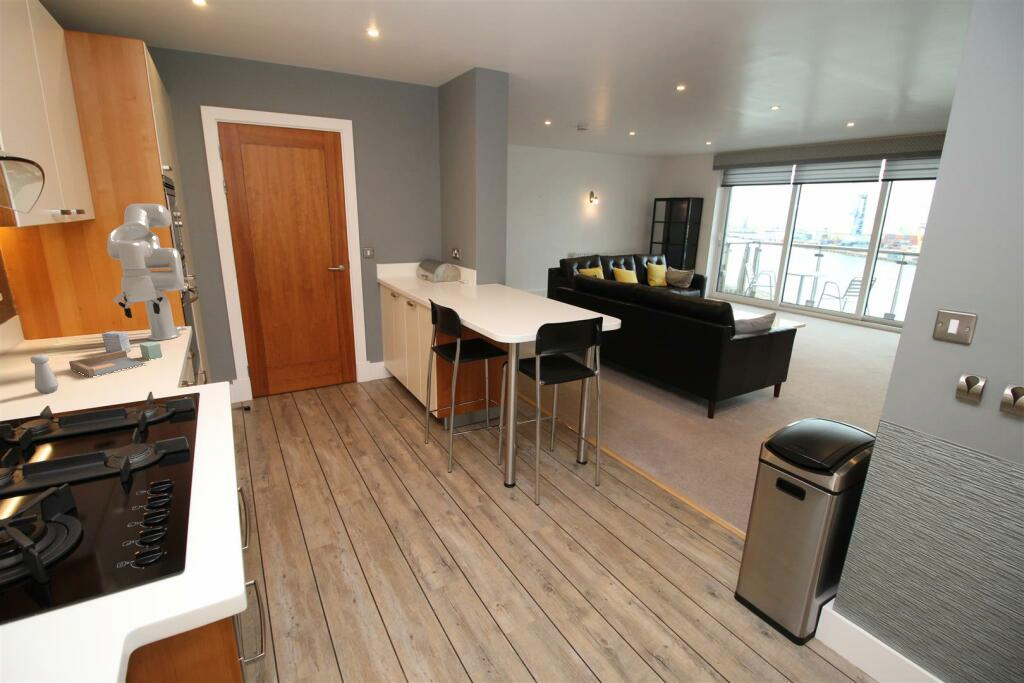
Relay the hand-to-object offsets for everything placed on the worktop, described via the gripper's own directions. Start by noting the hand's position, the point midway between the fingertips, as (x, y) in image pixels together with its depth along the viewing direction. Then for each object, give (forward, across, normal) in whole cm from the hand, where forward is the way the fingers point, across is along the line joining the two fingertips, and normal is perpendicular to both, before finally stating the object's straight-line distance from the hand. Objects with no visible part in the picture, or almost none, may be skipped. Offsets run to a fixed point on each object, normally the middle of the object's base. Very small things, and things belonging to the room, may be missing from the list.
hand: (143, 315), depth 197 cm
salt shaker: (+19, +37, +13) cm, 43 cm away
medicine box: (+18, +4, -22) cm, 28 cm away
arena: (+18, +15, -1) cm, 23 cm away
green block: (+18, 0, -1) cm, 18 cm away
